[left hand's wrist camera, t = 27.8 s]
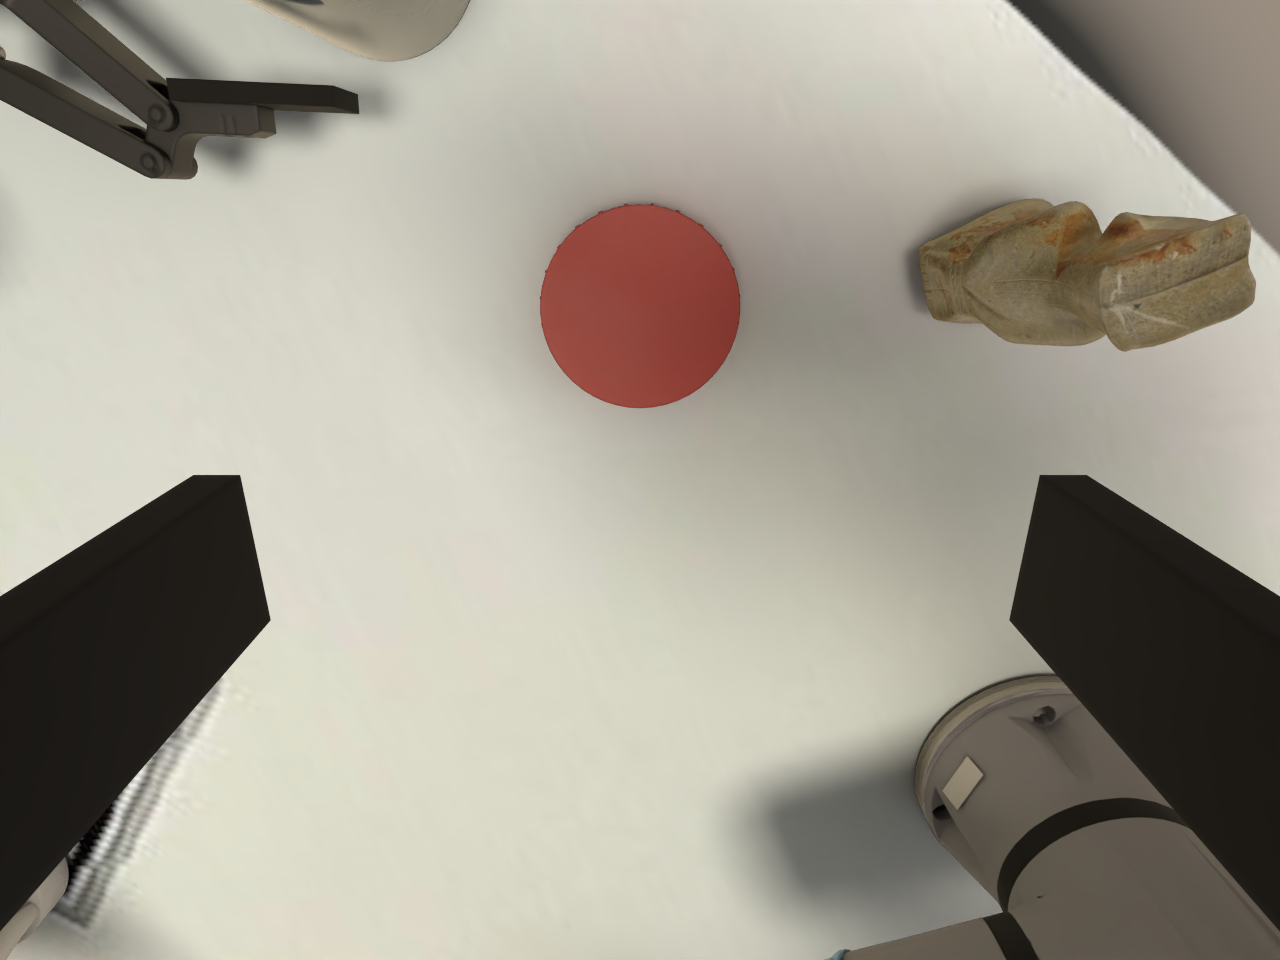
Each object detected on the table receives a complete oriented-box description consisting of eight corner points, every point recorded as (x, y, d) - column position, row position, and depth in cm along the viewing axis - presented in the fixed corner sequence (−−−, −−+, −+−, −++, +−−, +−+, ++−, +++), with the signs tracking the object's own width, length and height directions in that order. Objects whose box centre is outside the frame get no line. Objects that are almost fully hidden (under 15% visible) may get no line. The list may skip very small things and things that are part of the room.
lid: (771, 267, 39) (780, 272, 36) (673, 428, 42) (675, 442, 39) (601, 164, 37) (599, 162, 34) (512, 340, 40) (505, 349, 38)
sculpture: (1048, 294, 39) (1279, 350, 25) (913, 333, 40) (1062, 408, 26) (1038, 179, 37) (1282, 171, 23) (895, 223, 38) (1046, 240, 24)
